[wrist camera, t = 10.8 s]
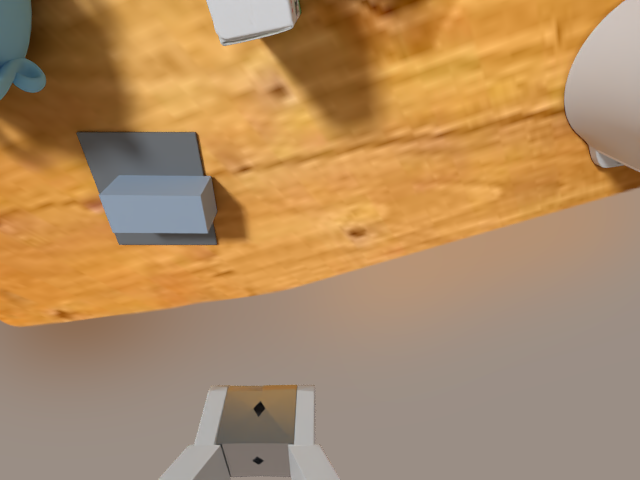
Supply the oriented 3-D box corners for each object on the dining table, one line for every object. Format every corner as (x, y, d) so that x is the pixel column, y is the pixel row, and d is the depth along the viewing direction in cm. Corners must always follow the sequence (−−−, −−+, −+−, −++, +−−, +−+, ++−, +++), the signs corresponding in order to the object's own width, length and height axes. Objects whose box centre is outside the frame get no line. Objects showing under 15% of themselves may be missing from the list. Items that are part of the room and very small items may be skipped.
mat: (195, 132, 38) (194, 133, 38) (217, 243, 46) (216, 244, 46) (77, 131, 38) (76, 132, 38) (120, 243, 46) (119, 244, 46)
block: (200, 195, 37) (98, 195, 37) (207, 233, 39) (113, 232, 39) (211, 176, 40) (118, 175, 40) (217, 211, 43) (130, 210, 43)
